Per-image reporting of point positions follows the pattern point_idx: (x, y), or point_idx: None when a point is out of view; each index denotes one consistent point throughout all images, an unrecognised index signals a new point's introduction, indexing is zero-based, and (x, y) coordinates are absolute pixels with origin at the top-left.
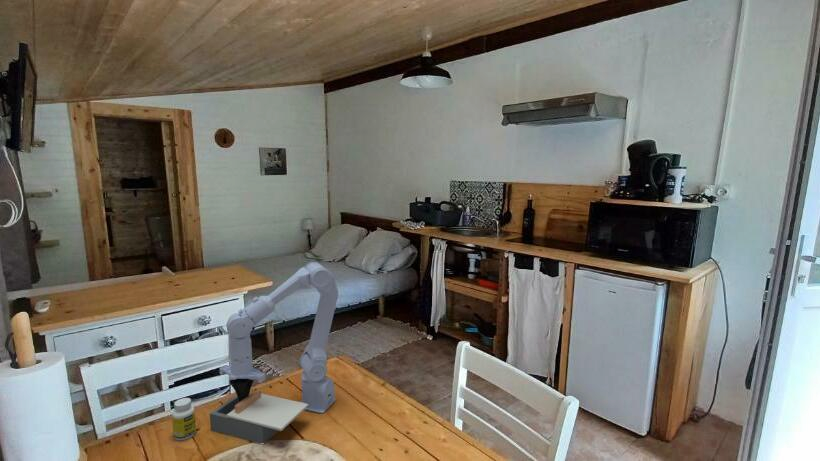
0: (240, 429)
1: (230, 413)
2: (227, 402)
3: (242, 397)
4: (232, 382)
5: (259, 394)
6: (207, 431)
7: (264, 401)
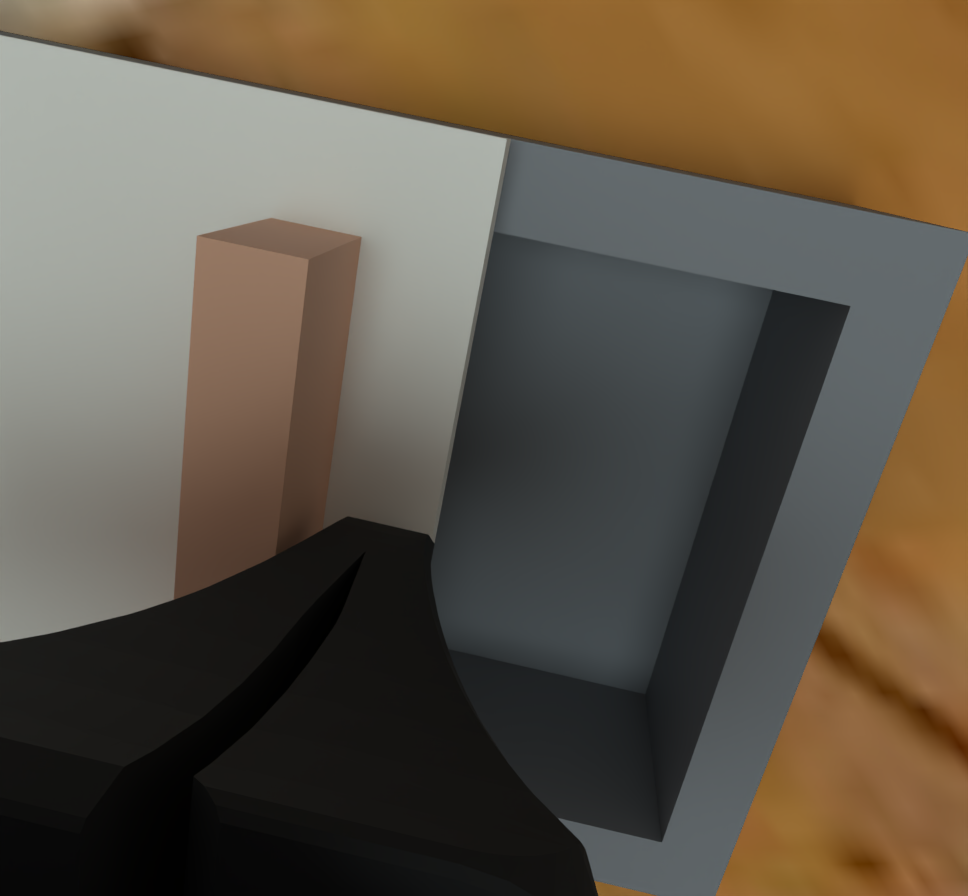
0: (246, 82)
1: (449, 202)
2: (786, 616)
3: (279, 556)
4: (324, 847)
5: None
6: (894, 166)
7: None
